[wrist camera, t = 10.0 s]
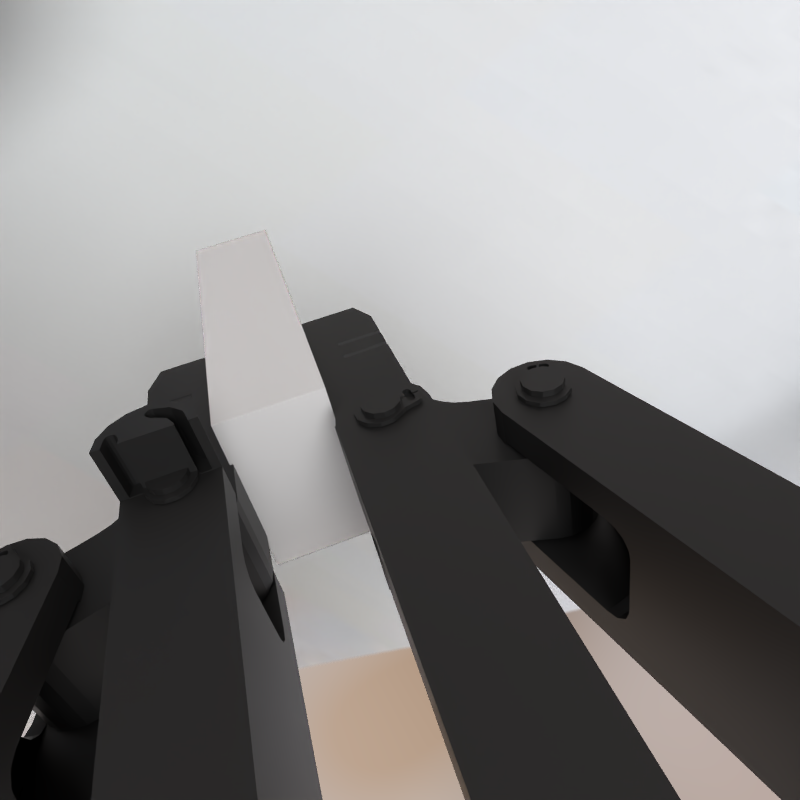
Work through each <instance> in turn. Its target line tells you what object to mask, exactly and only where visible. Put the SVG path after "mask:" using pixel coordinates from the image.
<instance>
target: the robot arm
mask: <svg viewBox="0 0 800 800" xmlns="http://www.w3.org/2000/svg"><path fill="white" fill-rule="evenodd" d="M196 257H197V269H198V280H199V292H200V304H201V315H202V327H203V339H204V350H205V358H202V359H199V360H196V361H193V362H190V363H187V364H184V365H181V366H178V367H174V368H171V369H168V370H165V371H162V372H161V373H160V374H159V376H158V377H157V379H156V380H155V382H154V383H153V385H152V386H151V388H150V389H149V391H148V404H147V406H144V407H142V408H139V409H137V410H135V411H132V412H130V413H128V414H126V415H124V416H123V417H121V418H120V419H118V420H117V421H115V422H114V423H112V424H111V425H109V426H108V427H107V428H106V429H105V430H104V431H103V432H102V433H101V434H100V435H99V436H98V437H97V438H96V439H95V441H94V443H93V446H92V448H91V450H90V452H89V454H90V456H91V457H92V459H93V460H94V462H95V463H96V465H97V467H98V468H99V470H100V471H101V473H102V474H103V476H104V477H105V479H106V480H107V482H108V484H109V485H110V487H111V488H112V490H113V491H114V493H115V494H116V496H117V498H118V499H119V501H120V509H119V519H118V520H116V521H115V522H114V523H113V524H112V525H110V526H109V527H107V528H106V529H104V530H103V531H101V532H100V533H98V534H97V535H95V536H93V537H92V538H90V539H88V540H86V541H85V542H83V543H81V544H80V545H78V546H76V547H74V548H73V549H71V550H69V551H68V552H66V553H64V552H63V551H62V550H61V549H60V547H59V546H58V545H57V544H56V543H54V542H52V541H50V540H48V539H46V538H37V539H25V540H22V541H19V542H16V543H13V544H10V545H6V546H5V547H3V548H1V549H0V800H322V795H321V790H320V784H319V779H318V774H317V768H316V762H315V757H314V752H313V747H312V741H311V736H310V730H309V725H308V719H307V714H306V709H305V703H304V698H303V693H302V687H301V682H300V676H299V671H298V666H297V660H296V655H295V650H294V644H293V639H292V633H291V628H290V623H289V617H288V612H287V607H286V601H285V596H284V592H283V590H282V588H281V586H280V584H279V582H278V580H277V578H276V575H275V573H274V571H273V567H272V561H271V555H270V550H271V552H272V554H273V556H274V558H275V561H276V563H277V565H280V564H283V563H286V562H288V561H291V560H294V559H296V558H299V557H302V556H305V555H307V554H310V553H313V552H315V551H318V550H321V549H324V548H326V547H329V546H332V545H334V544H337V543H340V542H343V541H345V540H348V539H351V538H353V537H356V536H359V535H362V534H364V533H367V532H371V535H372V538H373V541H374V544H375V547H376V550H377V553H378V556H379V559H380V562H381V565H382V568H383V571H384V574H385V577H386V580H387V583H388V586H389V589H390V590H391V593H392V596H393V598H394V601H395V604H396V607H397V610H398V612H399V615H400V618H401V621H402V624H403V626H404V629H405V632H406V635H407V638H408V641H409V643H410V646H411V649H412V652H413V655H414V657H415V660H416V662H417V666H418V668H419V671H420V674H421V677H422V680H423V683H424V685H425V688H426V691H427V694H428V697H429V700H430V702H431V705H432V708H433V711H434V713H435V716H436V719H437V722H438V725H439V728H440V730H441V733H442V736H443V739H444V742H445V744H446V747H447V750H448V753H449V755H450V758H451V761H452V764H453V767H454V770H455V773H456V776H457V778H458V781H459V784H460V787H461V790H462V792H463V795H464V798H465V800H681V799H680V798H679V796H678V795H677V793H676V791H675V790H674V788H673V787H672V785H671V783H670V782H669V780H668V778H667V777H666V775H665V774H664V772H663V770H662V769H661V767H660V766H659V764H658V762H657V761H656V759H655V758H654V756H653V754H652V753H651V751H650V750H649V748H648V746H647V745H646V743H645V742H644V740H643V738H642V737H641V735H640V733H639V732H638V730H637V728H636V727H635V725H634V724H633V722H632V721H631V719H630V717H629V716H628V714H627V712H626V711H625V709H624V708H623V706H622V704H621V703H620V701H619V700H618V698H617V696H616V695H615V693H614V691H613V690H612V688H611V687H610V685H609V684H608V682H607V680H606V679H605V677H604V675H603V674H602V672H601V670H600V669H599V668H598V666H597V664H596V662H595V661H594V659H593V658H592V656H591V654H590V653H589V651H588V650H587V648H586V646H585V645H584V643H583V641H582V640H581V638H580V637H579V635H578V633H577V632H576V630H575V629H574V627H573V625H572V624H571V622H570V621H569V619H568V617H567V616H566V614H565V612H564V611H563V609H562V608H561V606H560V604H559V603H558V601H557V599H556V598H555V596H554V595H553V593H552V591H551V590H550V588H549V587H548V585H547V583H546V582H545V580H544V579H543V577H542V575H541V574H540V572H539V570H538V569H537V567H538V568H539V569H540V570H541V571H542V572H543V573H544V574H545V575H546V576H547V577H548V578H549V579H550V580H551V581H552V582H553V583H554V584H555V585H556V586H558V587H559V588H560V589H561V590H562V591H563V592H564V593H565V594H566V595H567V596H568V597H569V598H570V599H571V600H572V601H573V602H574V603H575V604H576V605H577V606H579V607H580V608H581V609H582V610H583V611H584V612H585V613H586V614H587V615H588V616H589V617H590V618H591V619H592V620H593V621H594V622H595V623H597V625H599V626H600V627H601V628H602V629H603V630H604V631H605V632H606V633H607V634H608V635H609V636H610V637H611V638H612V639H613V640H614V641H615V642H616V643H617V644H618V645H620V646H621V647H622V648H623V649H624V650H625V651H626V652H627V653H628V654H629V655H630V656H631V657H632V658H633V659H634V660H635V661H637V663H639V665H641V666H642V667H643V668H644V669H645V670H646V671H647V672H648V673H649V674H650V675H651V676H652V677H653V678H654V679H655V680H656V681H657V682H658V683H659V684H661V685H662V686H663V687H664V688H665V689H666V690H667V691H668V692H669V693H670V694H671V695H672V696H673V697H674V698H675V699H676V700H677V701H678V702H680V703H681V704H682V705H683V706H684V707H685V708H686V709H687V710H688V711H689V712H690V713H691V714H692V715H693V716H694V717H695V718H696V719H697V720H698V721H699V722H700V723H701V724H703V725H704V726H705V727H706V728H707V729H708V730H709V731H710V732H711V733H712V734H713V735H714V736H715V737H716V738H717V739H718V740H719V741H720V742H721V743H722V744H724V745H725V746H726V747H727V748H728V749H729V750H730V751H731V752H732V753H733V754H734V755H735V756H736V757H737V758H738V759H739V760H740V761H741V762H742V763H744V764H745V765H746V766H747V767H748V768H749V769H750V770H751V771H752V772H753V773H754V774H755V775H756V776H757V777H758V778H759V779H760V780H761V781H762V782H764V783H765V784H766V785H767V786H768V787H769V788H770V789H771V790H772V791H773V792H774V793H775V794H776V795H777V796H778V797H779V798H781V800H800V487H799V486H797V485H795V484H793V483H792V482H790V481H788V480H786V479H784V478H782V477H781V476H779V475H777V474H775V473H773V472H772V471H770V470H768V469H766V468H764V467H763V466H761V465H759V464H757V463H755V462H753V461H752V460H750V459H748V458H746V457H744V456H743V455H741V454H739V453H737V452H735V451H733V450H732V449H730V448H728V447H726V446H724V445H723V444H721V443H719V442H717V441H715V440H713V439H712V438H710V437H708V436H706V435H704V434H703V433H701V432H699V431H697V430H695V429H694V428H692V427H690V426H688V425H686V424H684V423H683V422H681V421H679V420H677V419H675V418H674V417H672V416H670V415H668V414H666V413H664V412H663V411H661V410H659V409H657V408H655V407H654V406H652V405H650V404H648V403H646V402H644V401H643V400H641V399H639V398H637V397H635V396H634V395H632V394H630V393H628V392H626V391H624V390H623V389H621V388H619V387H617V386H615V385H614V384H612V383H610V382H608V381H606V380H605V379H603V378H601V377H599V376H597V375H595V374H594V373H592V372H590V371H588V370H586V369H585V368H583V367H580V366H577V365H574V364H572V363H569V362H566V361H555V360H542V361H534V362H527V363H525V364H522V365H519V366H517V367H514V368H511V369H510V370H508V371H507V372H506V373H504V374H503V375H502V376H500V377H499V378H498V379H497V381H496V383H495V384H494V386H493V388H492V399H488V400H480V401H472V402H458V403H451V402H441V401H437V400H433V399H432V398H431V396H430V395H429V394H428V393H427V392H426V391H425V390H424V389H423V388H422V387H420V386H418V385H415V384H412V383H410V381H409V379H408V378H407V376H406V374H405V373H404V371H403V369H402V367H401V366H400V364H399V362H398V361H397V359H396V357H395V356H394V354H393V352H392V351H391V349H390V347H389V346H388V344H387V343H386V341H385V339H384V337H383V336H382V334H381V333H380V331H379V329H378V327H377V326H376V324H375V322H374V321H373V319H372V317H371V316H369V315H367V314H365V313H363V312H361V311H359V310H356V309H354V308H351V309H348V310H344V311H341V312H338V313H335V314H332V315H329V316H326V317H323V318H320V319H316V320H313V321H310V322H307V323H304V324H301V322H300V320H299V317H298V314H297V312H296V309H295V306H294V304H293V301H292V299H291V296H290V293H289V291H288V288H287V285H286V283H285V280H284V277H283V275H282V272H281V269H280V267H279V264H278V261H277V259H276V256H275V254H274V251H273V248H272V246H271V243H270V240H269V238H268V235H267V232H266V230H263V231H260V232H256V233H253V234H250V235H247V236H243V237H240V238H237V239H233V240H230V241H227V242H223V243H220V244H217V245H213V246H210V247H207V248H203V249H200V250H197V251H196ZM269 548H270V550H269ZM536 566H537V567H536ZM32 710H33V711H34V712H35V713H36V716H35V718H34V720H33V723H32V725H31V727H30V728H29V730H28V732H27V733H26V735H25V736H24V737H21V736H22V733H23V731H24V728H25V726H26V724H27V721H28V719H29V716H30V714H31V712H32Z"/></svg>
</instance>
